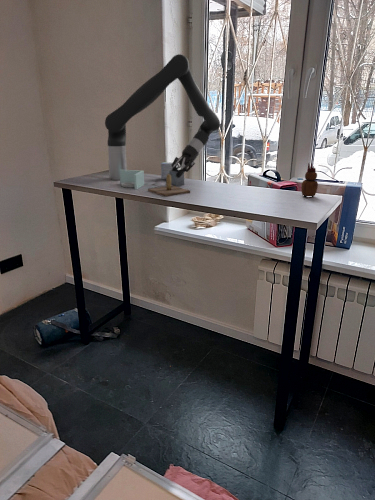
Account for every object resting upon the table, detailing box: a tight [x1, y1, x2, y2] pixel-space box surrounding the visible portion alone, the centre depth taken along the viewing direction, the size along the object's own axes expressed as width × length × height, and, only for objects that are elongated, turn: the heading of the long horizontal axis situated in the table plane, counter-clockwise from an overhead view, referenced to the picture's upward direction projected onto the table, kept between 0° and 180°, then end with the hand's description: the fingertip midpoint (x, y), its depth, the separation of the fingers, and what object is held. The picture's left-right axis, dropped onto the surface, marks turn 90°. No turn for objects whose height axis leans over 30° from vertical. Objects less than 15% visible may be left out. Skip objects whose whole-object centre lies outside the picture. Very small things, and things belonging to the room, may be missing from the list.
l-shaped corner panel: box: [120, 169, 145, 190], centre depth 180 cm, size 12×12×8 cm
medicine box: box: [160, 161, 175, 180], centre depth 199 cm, size 8×4×9 cm, turn 84°
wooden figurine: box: [300, 162, 319, 197], centre depth 163 cm, size 7×6×15 cm
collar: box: [170, 169, 185, 187], centre depth 185 cm, size 5×5×7 cm
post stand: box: [147, 174, 191, 197], centre depth 169 cm, size 14×14×8 cm
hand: (174, 175), depth 184 cm, fingers closed on collar, 5 cm apart
